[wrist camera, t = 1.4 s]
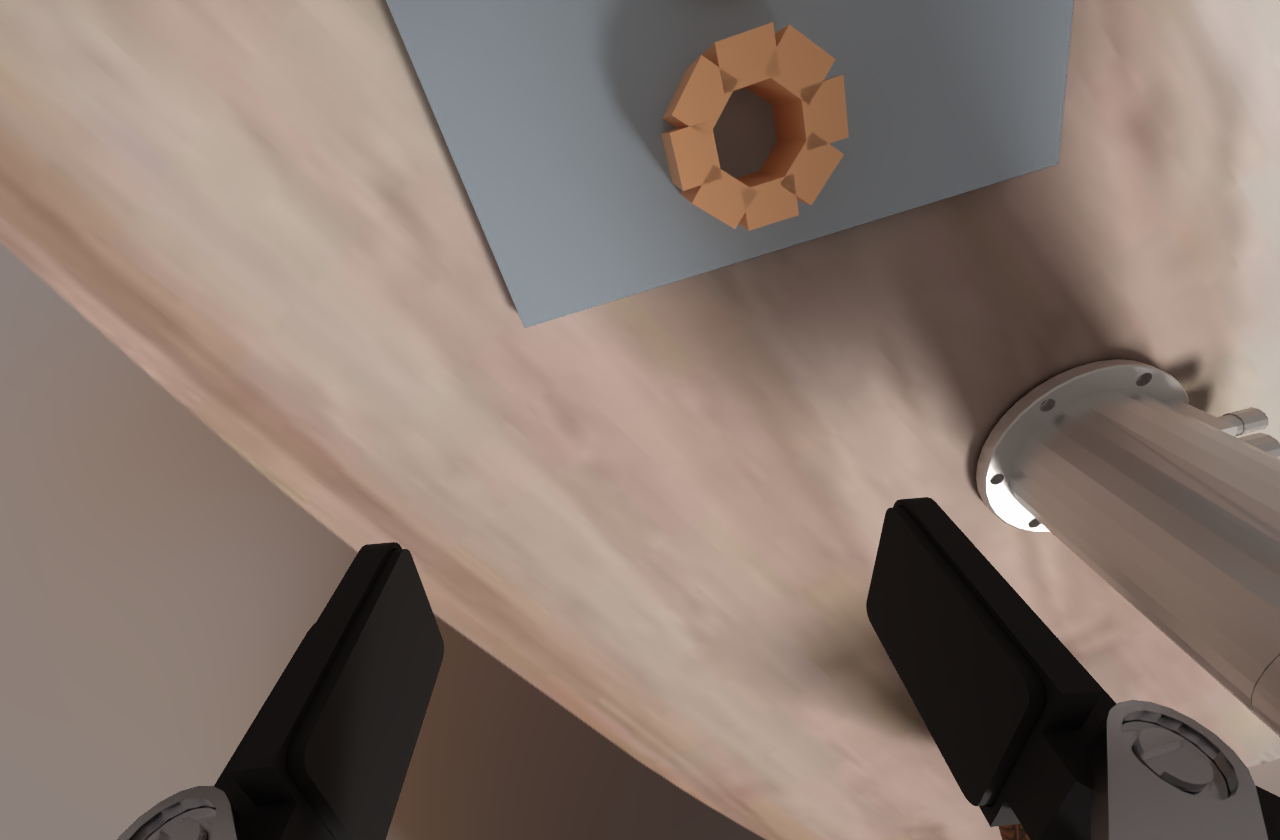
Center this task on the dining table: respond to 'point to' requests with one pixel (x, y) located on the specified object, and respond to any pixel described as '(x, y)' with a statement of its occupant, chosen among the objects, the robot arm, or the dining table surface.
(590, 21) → the carrier board
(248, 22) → the dining table surface
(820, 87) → the planet gear
